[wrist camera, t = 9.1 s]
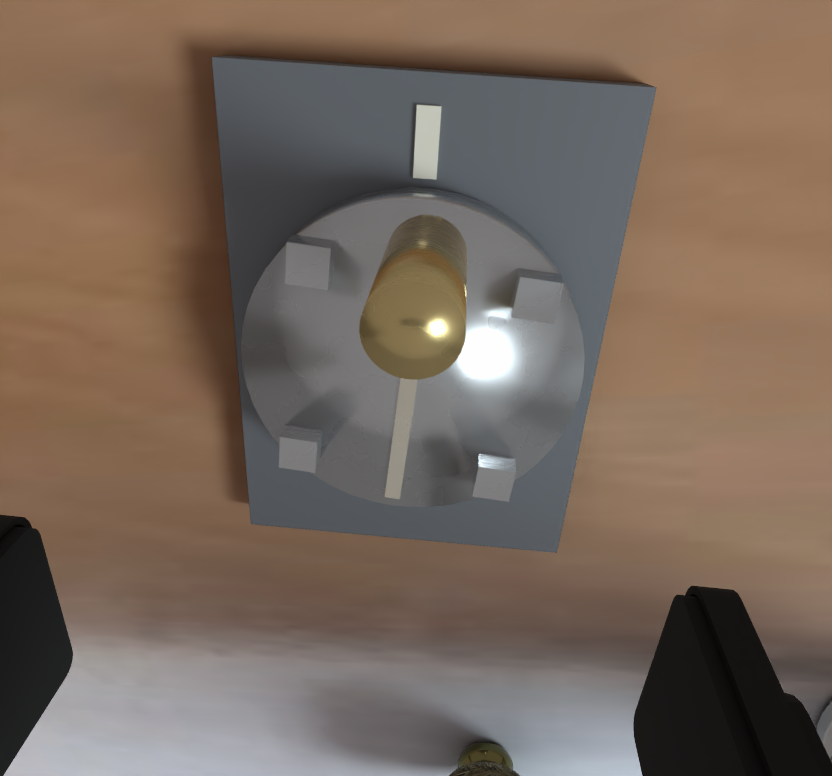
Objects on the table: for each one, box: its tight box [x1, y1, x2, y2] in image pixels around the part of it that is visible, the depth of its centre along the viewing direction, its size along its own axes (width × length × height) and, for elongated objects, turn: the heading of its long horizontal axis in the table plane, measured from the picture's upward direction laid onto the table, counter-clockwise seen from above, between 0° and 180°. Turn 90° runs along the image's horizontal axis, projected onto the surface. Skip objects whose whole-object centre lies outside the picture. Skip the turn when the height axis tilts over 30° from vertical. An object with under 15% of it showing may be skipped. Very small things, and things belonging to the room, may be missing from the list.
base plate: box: [212, 55, 656, 553], centre depth 30 cm, size 22×16×2 cm
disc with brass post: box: [241, 187, 585, 507], centre depth 25 cm, size 14×14×9 cm
